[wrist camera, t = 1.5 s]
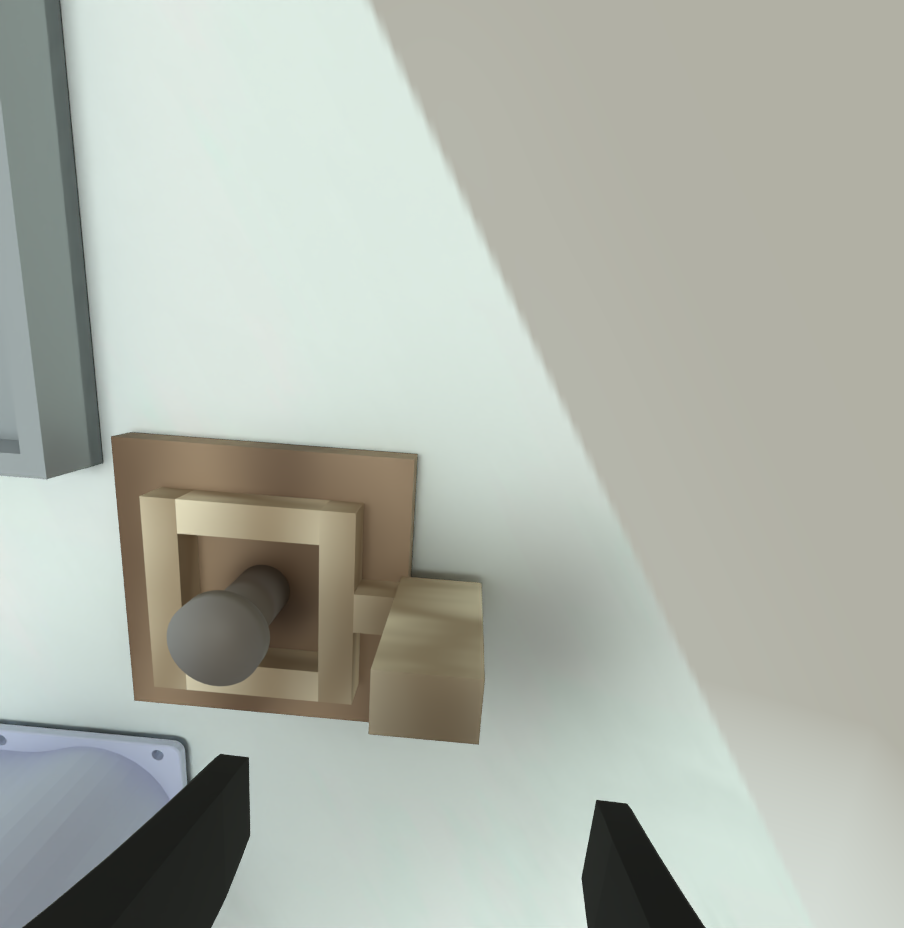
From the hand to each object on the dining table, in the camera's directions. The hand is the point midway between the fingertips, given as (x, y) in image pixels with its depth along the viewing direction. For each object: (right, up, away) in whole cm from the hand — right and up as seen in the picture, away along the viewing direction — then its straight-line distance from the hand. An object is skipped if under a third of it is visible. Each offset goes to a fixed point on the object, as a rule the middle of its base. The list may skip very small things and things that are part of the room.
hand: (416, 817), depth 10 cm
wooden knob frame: (-4, +2, +8) cm, 10 cm away
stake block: (-6, +3, +9) cm, 12 cm away
